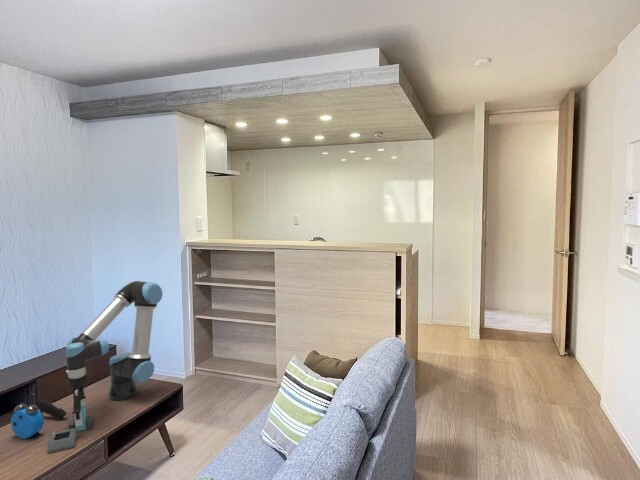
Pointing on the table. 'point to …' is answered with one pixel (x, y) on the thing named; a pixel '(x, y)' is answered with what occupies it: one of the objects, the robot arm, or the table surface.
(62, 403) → the table surface
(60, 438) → the port panel
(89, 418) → the grey u-shaped bracket
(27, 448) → the table surface
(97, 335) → the robot arm
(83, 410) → the plug
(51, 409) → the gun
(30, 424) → the alarm clock
